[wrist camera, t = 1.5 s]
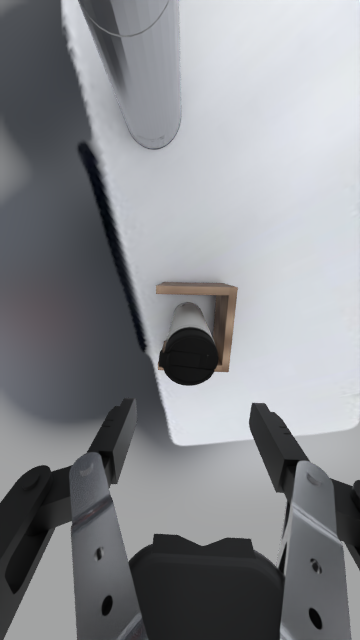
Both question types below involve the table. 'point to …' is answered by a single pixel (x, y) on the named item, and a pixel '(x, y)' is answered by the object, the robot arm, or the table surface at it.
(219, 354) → the wooden u-shaped bracket
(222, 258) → the table surface
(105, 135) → the table surface
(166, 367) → the travel mug
